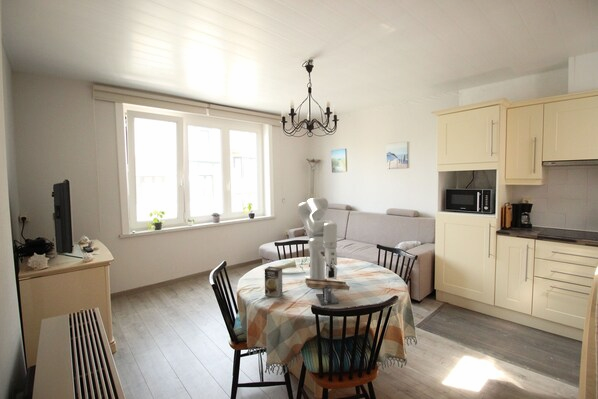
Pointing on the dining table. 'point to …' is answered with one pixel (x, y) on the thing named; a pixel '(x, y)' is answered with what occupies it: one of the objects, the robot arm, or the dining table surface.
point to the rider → (328, 272)
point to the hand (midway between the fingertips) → (330, 275)
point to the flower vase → (291, 265)
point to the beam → (326, 284)
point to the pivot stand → (327, 296)
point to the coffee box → (273, 281)
